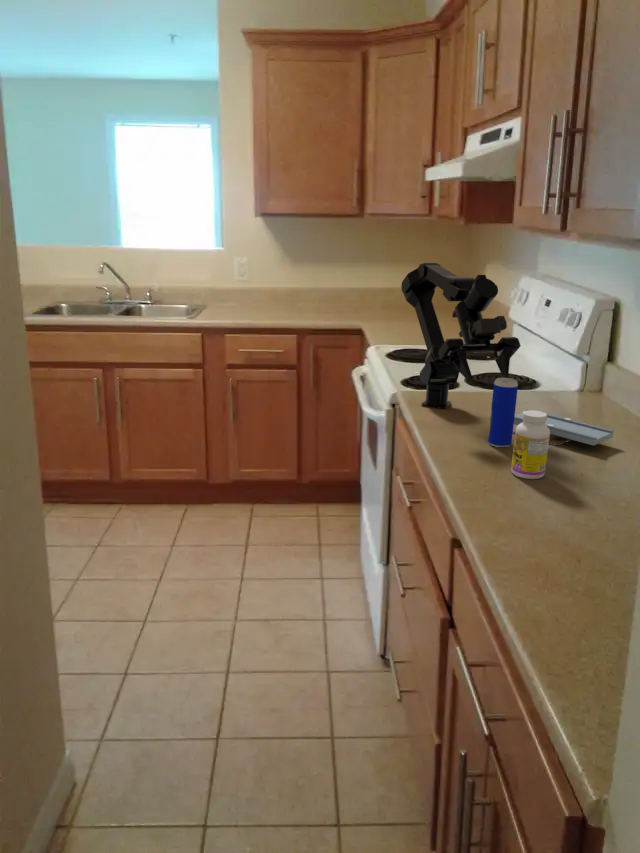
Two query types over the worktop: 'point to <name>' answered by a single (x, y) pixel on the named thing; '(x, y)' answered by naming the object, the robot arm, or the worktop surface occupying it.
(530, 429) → the supplement bottle
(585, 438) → the beam
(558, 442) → the fulcrum
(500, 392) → the beverage can
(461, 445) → the worktop surface
